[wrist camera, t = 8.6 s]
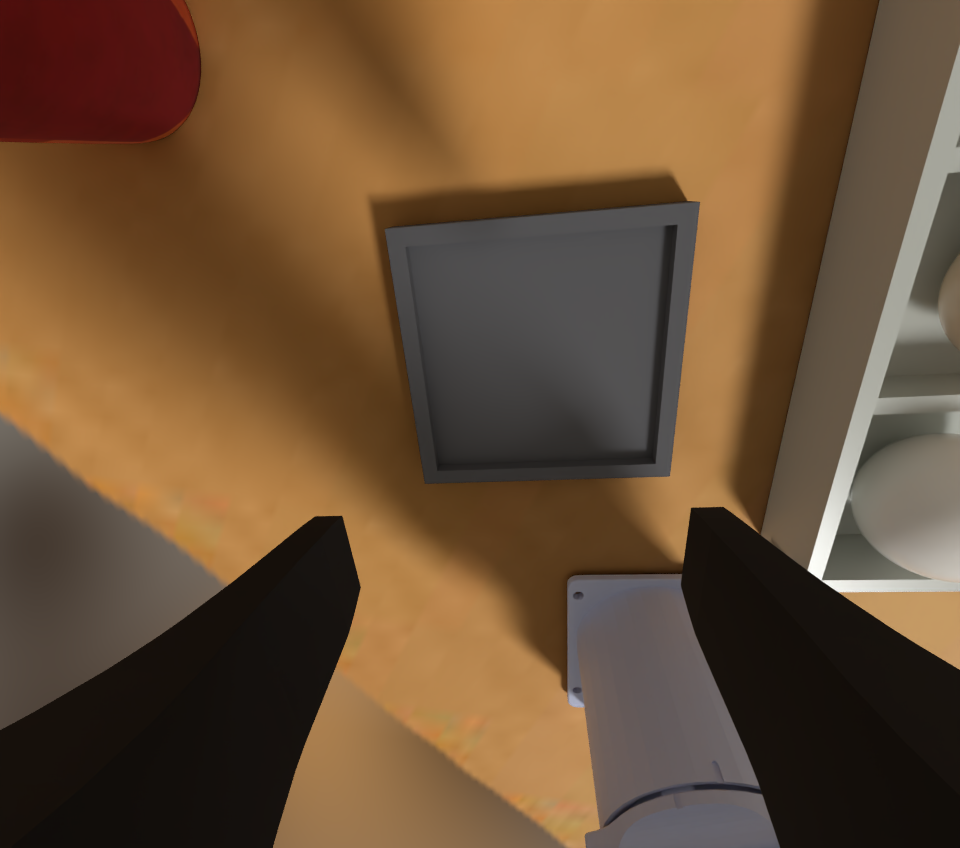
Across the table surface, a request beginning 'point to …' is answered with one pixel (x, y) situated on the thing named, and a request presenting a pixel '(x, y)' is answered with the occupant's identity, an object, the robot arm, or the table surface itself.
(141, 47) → the paper cup
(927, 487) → the white egg
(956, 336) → the beige ball
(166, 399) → the table surface
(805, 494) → the tray
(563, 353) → the coaster
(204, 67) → the table surface
